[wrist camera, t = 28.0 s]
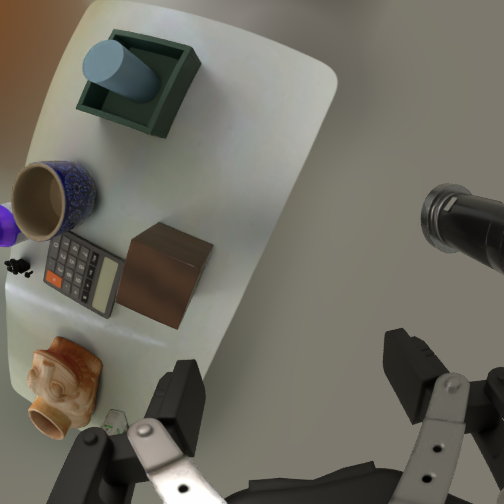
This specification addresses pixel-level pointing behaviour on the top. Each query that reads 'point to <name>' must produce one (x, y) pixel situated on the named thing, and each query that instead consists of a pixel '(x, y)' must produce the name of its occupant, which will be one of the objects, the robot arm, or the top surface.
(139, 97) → the cylinder
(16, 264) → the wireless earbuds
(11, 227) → the bottle
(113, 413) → the ink box
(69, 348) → the ceramic vessel
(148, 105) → the bin
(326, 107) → the top surface
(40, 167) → the planter
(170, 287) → the stand
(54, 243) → the calculator
